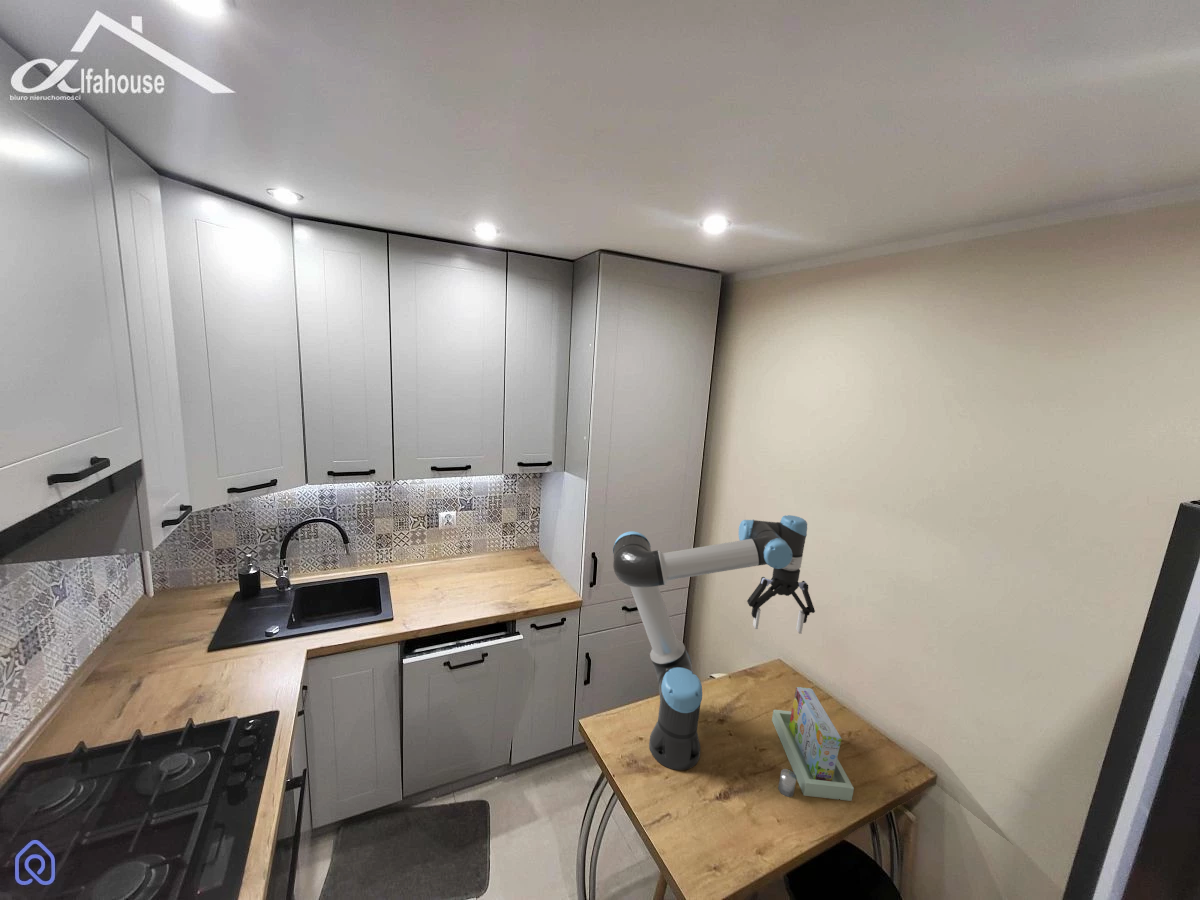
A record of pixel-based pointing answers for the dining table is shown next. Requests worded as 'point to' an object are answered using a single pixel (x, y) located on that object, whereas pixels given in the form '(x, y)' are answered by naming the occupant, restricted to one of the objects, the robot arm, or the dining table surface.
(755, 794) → the dining table surface
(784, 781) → the metal part
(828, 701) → the dining table surface
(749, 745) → the dining table surface
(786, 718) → the tray
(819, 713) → the snack box
